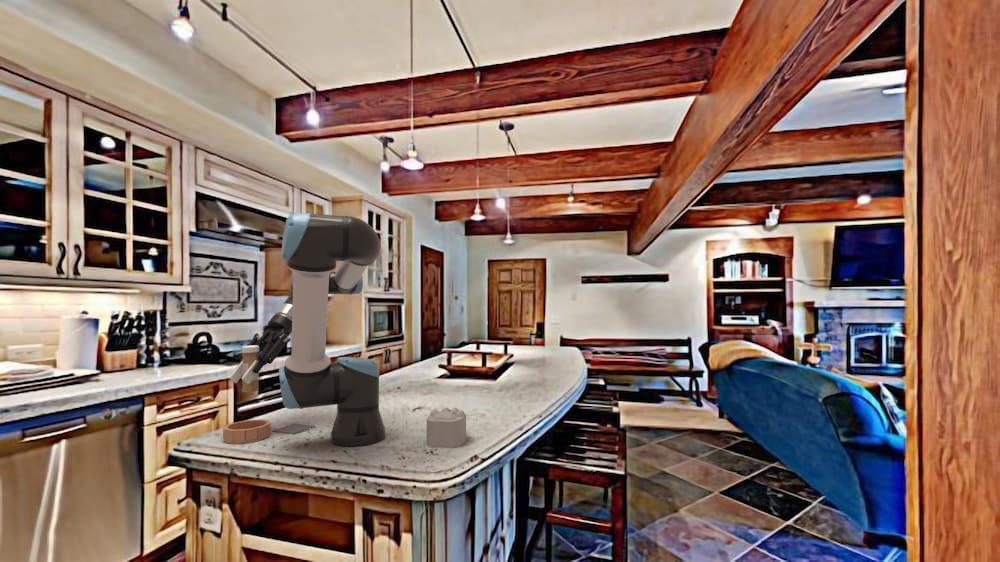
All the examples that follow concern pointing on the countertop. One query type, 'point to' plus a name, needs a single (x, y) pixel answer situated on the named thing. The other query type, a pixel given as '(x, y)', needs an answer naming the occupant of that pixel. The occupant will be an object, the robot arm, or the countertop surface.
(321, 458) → the countertop surface
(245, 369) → the sprinkles bottle
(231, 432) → the terracotta bowl
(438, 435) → the lumpy-topped squat cylinder
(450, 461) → the countertop surface
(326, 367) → the robot arm
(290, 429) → the rubber mat
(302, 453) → the countertop surface
